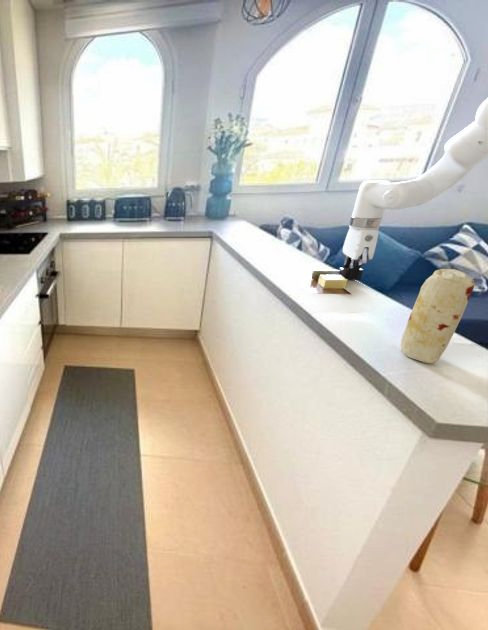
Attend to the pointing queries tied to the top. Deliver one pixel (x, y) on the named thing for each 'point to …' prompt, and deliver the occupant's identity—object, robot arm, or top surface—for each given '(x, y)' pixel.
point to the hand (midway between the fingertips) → (348, 277)
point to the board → (316, 286)
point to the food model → (436, 314)
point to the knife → (334, 273)
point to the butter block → (332, 281)
